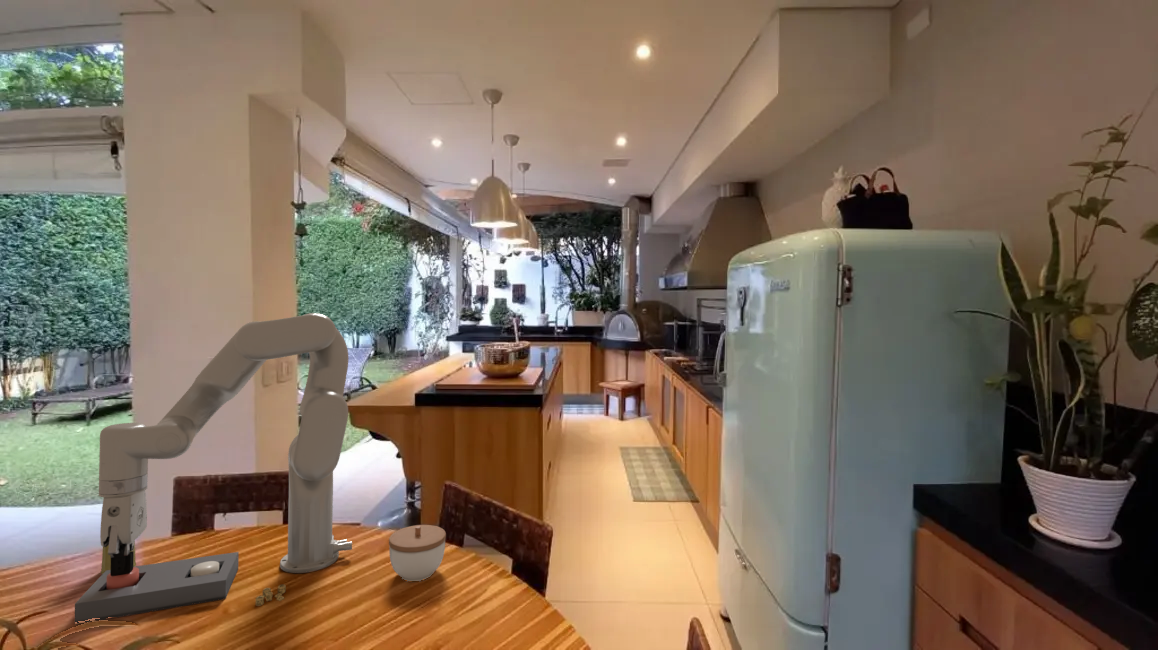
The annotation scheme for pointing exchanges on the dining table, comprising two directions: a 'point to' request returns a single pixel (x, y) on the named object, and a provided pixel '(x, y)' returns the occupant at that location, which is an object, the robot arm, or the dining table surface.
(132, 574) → the red button
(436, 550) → the lidded bowl
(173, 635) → the dining table surface
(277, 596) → the dice set
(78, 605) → the button panel
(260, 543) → the dining table surface
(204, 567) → the ivory button
